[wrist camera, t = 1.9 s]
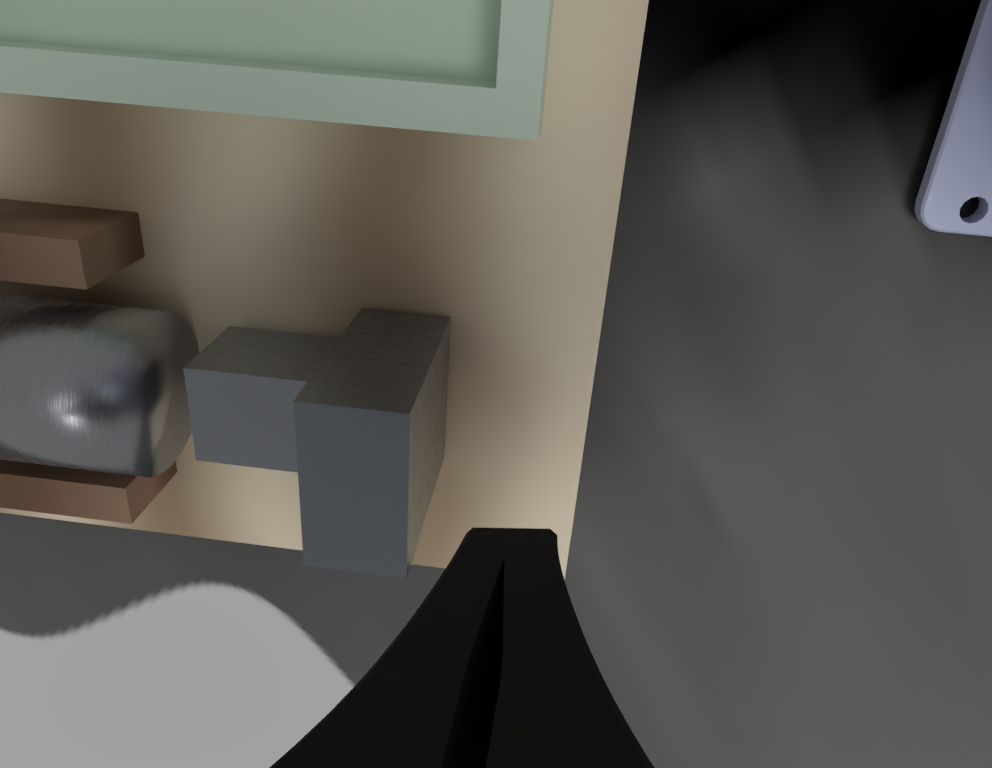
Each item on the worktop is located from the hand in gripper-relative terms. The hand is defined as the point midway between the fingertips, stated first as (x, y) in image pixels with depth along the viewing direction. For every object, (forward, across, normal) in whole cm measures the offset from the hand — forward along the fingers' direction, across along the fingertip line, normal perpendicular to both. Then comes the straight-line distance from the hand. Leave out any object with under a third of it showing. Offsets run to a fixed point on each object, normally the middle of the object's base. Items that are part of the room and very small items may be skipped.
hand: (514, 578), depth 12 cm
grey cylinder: (+6, +11, -2) cm, 13 cm away
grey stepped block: (+6, +4, -1) cm, 8 cm away
